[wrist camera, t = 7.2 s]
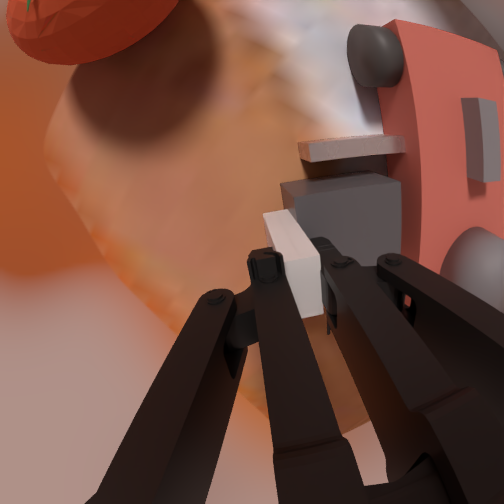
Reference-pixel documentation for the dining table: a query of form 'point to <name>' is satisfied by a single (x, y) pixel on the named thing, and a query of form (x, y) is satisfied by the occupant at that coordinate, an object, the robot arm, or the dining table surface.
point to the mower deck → (442, 146)
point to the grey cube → (349, 212)
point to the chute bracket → (351, 147)
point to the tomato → (82, 27)
